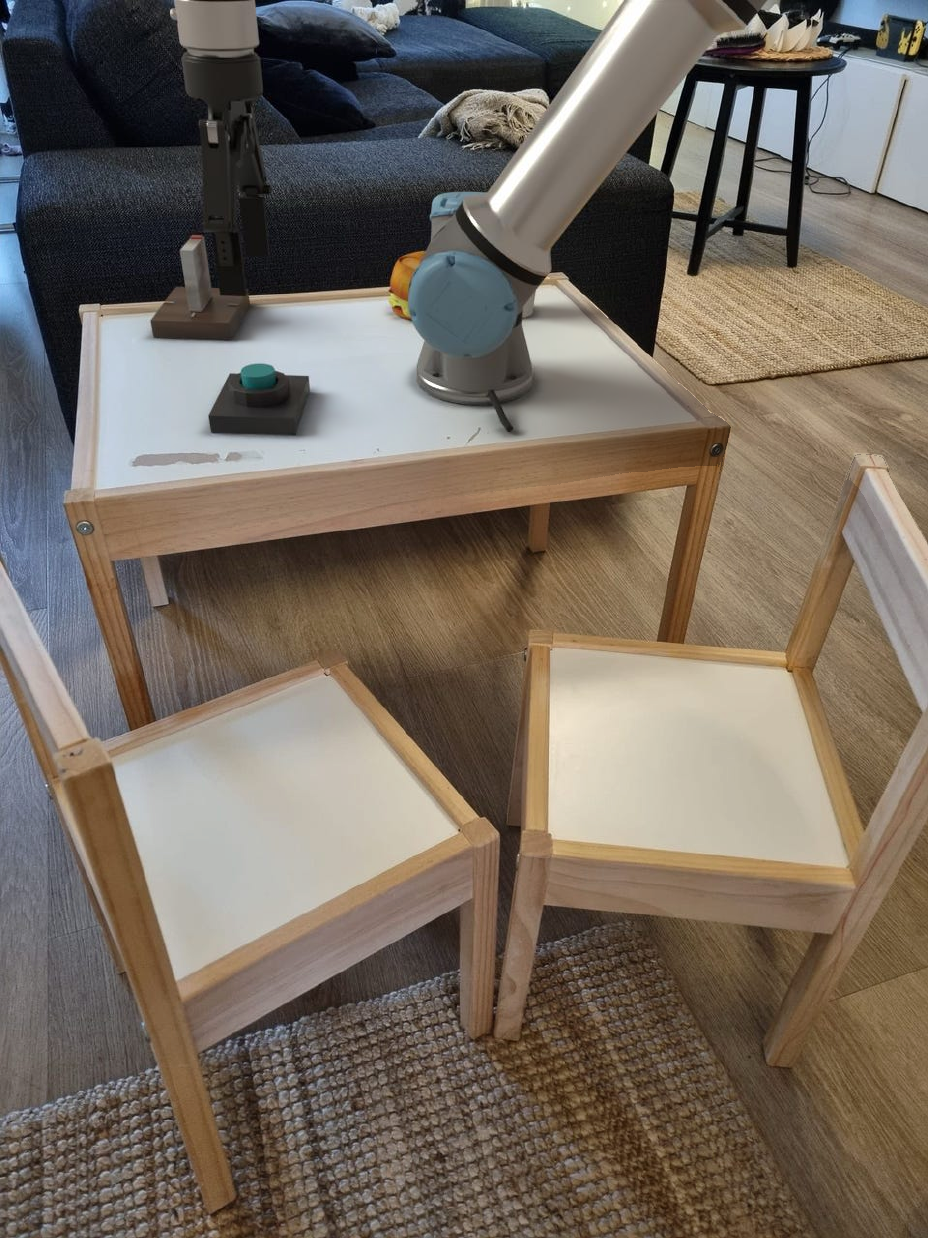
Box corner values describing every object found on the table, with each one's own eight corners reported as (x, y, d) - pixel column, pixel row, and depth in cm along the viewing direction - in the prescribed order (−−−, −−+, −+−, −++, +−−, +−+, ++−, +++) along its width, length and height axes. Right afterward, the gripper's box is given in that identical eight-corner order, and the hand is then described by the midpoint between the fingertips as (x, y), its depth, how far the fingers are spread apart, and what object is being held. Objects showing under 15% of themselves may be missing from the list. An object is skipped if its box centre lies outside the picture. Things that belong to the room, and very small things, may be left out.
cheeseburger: (459, 300, 145) (460, 241, 137) (451, 341, 138) (452, 281, 131) (395, 295, 145) (392, 236, 137) (385, 336, 139) (381, 276, 131)
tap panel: (231, 340, 130) (228, 321, 128) (153, 337, 130) (149, 319, 128) (250, 305, 141) (248, 287, 139) (178, 302, 141) (175, 285, 139)
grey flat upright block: (201, 311, 131) (192, 248, 126) (189, 311, 131) (179, 248, 126) (212, 296, 136) (203, 234, 131) (200, 295, 136) (191, 234, 131)
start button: (273, 391, 109) (271, 377, 108) (239, 390, 109) (237, 376, 108) (278, 377, 112) (277, 363, 111) (245, 376, 112) (244, 362, 111)
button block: (295, 435, 108) (292, 403, 106) (210, 432, 108) (205, 401, 106) (310, 391, 118) (307, 361, 115) (232, 389, 118) (228, 359, 115)
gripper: (211, 33, 99) (236, 240, 112) (144, 68, 80) (184, 312, 93) (280, 36, 99) (297, 242, 112) (231, 71, 80) (258, 315, 93)
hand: (246, 274), depth 103 cm, fingers open, 12 cm apart
